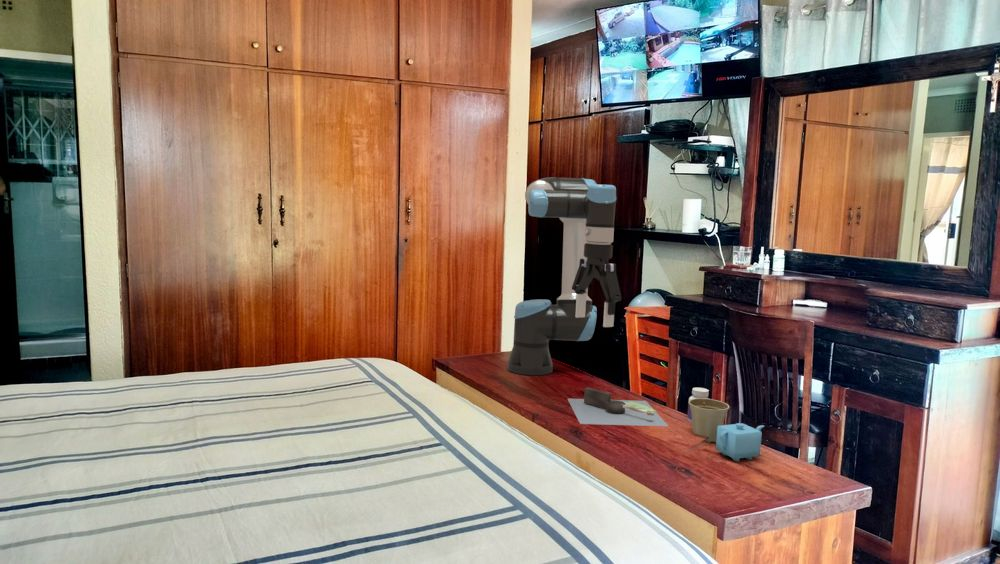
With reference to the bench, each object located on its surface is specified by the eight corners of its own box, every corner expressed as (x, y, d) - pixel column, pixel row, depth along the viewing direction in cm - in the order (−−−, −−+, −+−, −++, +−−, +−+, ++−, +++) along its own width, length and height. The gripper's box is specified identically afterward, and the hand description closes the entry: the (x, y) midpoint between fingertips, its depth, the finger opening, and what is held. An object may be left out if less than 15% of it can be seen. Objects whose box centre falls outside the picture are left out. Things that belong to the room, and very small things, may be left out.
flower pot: (729, 447, 158) (732, 411, 157) (687, 443, 159) (690, 407, 158) (724, 434, 167) (726, 400, 166) (684, 430, 169) (687, 396, 168)
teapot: (752, 449, 157) (755, 417, 156) (771, 458, 152) (774, 425, 151) (709, 453, 153) (712, 421, 152) (727, 463, 147) (730, 430, 146)
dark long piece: (658, 418, 171) (659, 403, 171) (648, 423, 167) (649, 407, 167) (590, 400, 185) (591, 386, 185) (579, 404, 181) (580, 389, 181)
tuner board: (567, 403, 187) (567, 397, 187) (645, 406, 188) (646, 400, 188) (579, 429, 165) (580, 423, 165) (668, 432, 167) (669, 425, 166)
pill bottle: (696, 431, 168) (699, 393, 167) (682, 424, 173) (684, 387, 172) (713, 428, 171) (716, 391, 170) (698, 422, 176) (701, 385, 175)
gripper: (562, 239, 189) (558, 314, 192) (614, 247, 167) (608, 331, 169) (585, 239, 192) (580, 313, 195) (638, 247, 170) (633, 330, 173)
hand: (593, 321), depth 182 cm, fingers open, 13 cm apart
